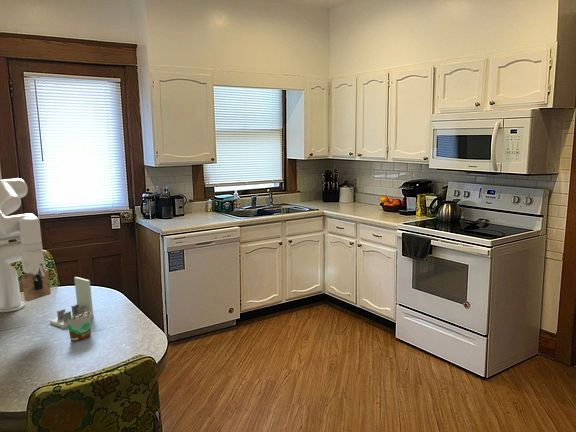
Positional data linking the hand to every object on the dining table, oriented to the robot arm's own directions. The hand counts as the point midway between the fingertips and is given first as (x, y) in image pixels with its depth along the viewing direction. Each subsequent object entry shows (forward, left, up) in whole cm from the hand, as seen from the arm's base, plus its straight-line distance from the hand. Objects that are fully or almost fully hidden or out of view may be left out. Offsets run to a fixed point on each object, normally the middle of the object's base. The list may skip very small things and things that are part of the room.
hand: (36, 288), depth 209 cm
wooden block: (0, 0, -4) cm, 4 cm away
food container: (+21, +6, -19) cm, 29 cm away
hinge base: (0, +14, -19) cm, 24 cm away
